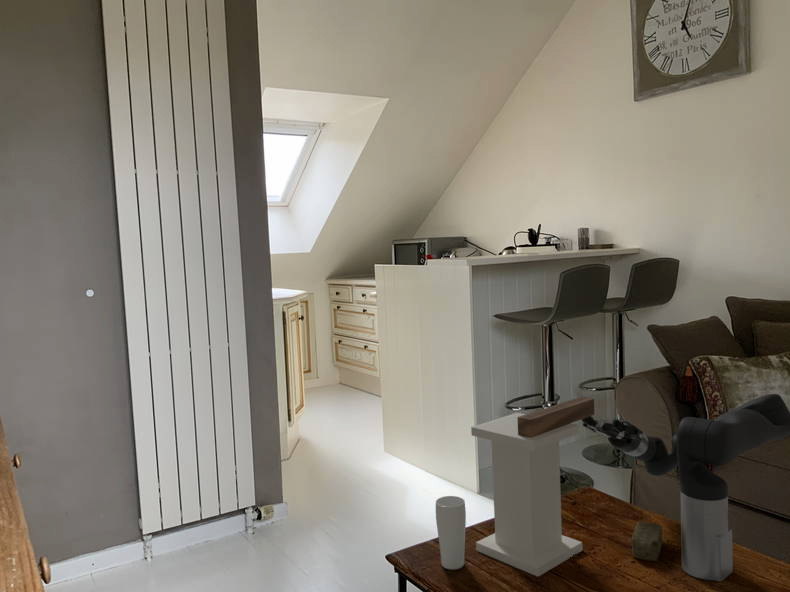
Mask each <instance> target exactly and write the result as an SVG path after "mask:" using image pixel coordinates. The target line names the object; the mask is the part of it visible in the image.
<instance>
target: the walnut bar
mask: <svg viewBox="0 0 790 592" xmlns="http://www.w3.org/2000/svg"><path fill="white" fill-rule="evenodd" d="M525 414H526V413H525ZM589 416H591V417H593V416H595V398H592V397H587V396H579V397H576V398H572V399H570V400H565V401H564V402H559V403H558V404H557V403H556V404H554V405H550V406H548V407H545V408H542V409H539V410H536V411H533V412H530V413H527V414H526V415H523V416H520V417H517V419H518V435H521V436H525V437H530V438H532V437H534V436H537V435H540V434H543V433H545V432H548V431H551V430H554V429H556V428H559V427H562V426H565V425H567V424H570V423H571V424H574V423H576V422H578V421H582V419H584V418H587V417H589Z"/></svg>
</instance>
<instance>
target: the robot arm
mask: <svg viewBox="0 0 790 592" xmlns="http://www.w3.org/2000/svg"><path fill="white" fill-rule="evenodd" d="M581 421H582V422H583V423H582V427H584V428H586V429H588V430H589V431H591V432H593V433H600V434H602V435H604V436H605V437H606V438H607V439H608V443H610V445H611V446H613V447H614V448H616V449H617V450H618V451H621V452H622V453H623V454H626V455H629V456H631V457H632V458H634V459H636V460H638V461H641V462H643V464H644V468H645V470H646V471H647V474H650V475H652V476H656V477H659V476H660V477H661V476H664V475H666V474H668V473H670V472H671V471H673V470H674V469H675V468H677V467H678V468H677V469H678V470H677V471H678V472H677V473H678V480H679V484H680V487H679V488H680V534H681V535H680V539H681V540H680V542H681V543H680V544H681V547H680V549H681V568H682V570H683V571H684V572H685V573H687V574H688V575H689V576H692V577H694V578H698V579H701V580H706V581H717V582H719V583H722V582H723V581H724V580H725V579H726V578H728V576H730V575H731V574H732V573H733V570H734V569H733V568H734V567H733V563H734V562H733V529H732V528H729V488H728V487H729V486H728V483H727V481H726V480H725V479H724V478H722V477H721V476H719V474H716V473H714V472H713V471H711V470H710V469H709V468H708V467H706V465H705V464H707V465H712V466H725V465H728V464H730V463H731V462H733V461H734V460H735V459H736V458H738V457H739V456H740V455H742V454H744V453H745V452H748V451H751V450H753V449H756V448H759V447H761V446H762V445H764V444H767V443H769V442H773V441H777V440H782V439H784V438H786V437H788V436H790V410H789V408H788V407H787V404H786V402H785V401H784V399H783V398H782V396H781V394H778V393H770V394H765V395H762V396H759V397H757V398H755V399H752V400H749V401H747V402H745V403H744V404H741V405H738V406H737V407H735V408H732V409H730V410H728V411H727V412H724V413H722V414H720V415H718V416H717V417H715V418H713V419H706V418H701V417H693V416H686V417H683V418H682V419H681V420H680V421H679V424H678V426H677V430H676V434H674V435H673V436H672V438H671V450H670V452H669V451H668V449H667V446H666V444H665V442H664V440H663V439H662V438H661V437H659V436H652V435H651V436H650V435H647V434H645V433H644V431H642V430H641V429H640V428H639V427H637V426H635V425H634V424H632V423H631V422H629V421H628V420H624V419H623V420H622V419H621V420H619V419H617V418H614V419H613V421H608V420H606V419H603V418H594V416H589V417H587V418H584V419H581ZM602 423H603V424H602ZM601 425H602V426H601Z"/></svg>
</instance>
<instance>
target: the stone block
mask: <svg viewBox="0 0 790 592" xmlns="http://www.w3.org/2000/svg"><path fill="white" fill-rule="evenodd" d="M662 545H663V526H662V525H660V524H656V523H651V522H647V521H646V522H645V521H640V520H638V521H637V522H636V525H635V529H634V531H633V532H632V538H631V549H632V556H633V557H634V558H636V559H639V560H644V561H648V562H658V561H659V556H660V551H661V548H662Z"/></svg>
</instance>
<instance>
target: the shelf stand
mask: <svg viewBox="0 0 790 592" xmlns="http://www.w3.org/2000/svg"><path fill="white" fill-rule="evenodd" d="M523 415H526V413H521V412H514V413H511V414H509V415H505V416H502V417H500V418H499V417H498V418H495V419H493V420H490V421H486V422H483V423H479V424H475V425H473V426H471V431H470V433H471V436H473V437H475V438H476V437H477V438H479V439H480V438H481V439H483V440H488V441H491V458H492V459H491V462H492V464H491V466H492V482H493V483H492V486H493V487H492V489H493V512H494V513H493V514H494V533H492V534H490V535H489V536H488V535H487V536H486V537H484V538H482V539H480V540H478V541H476V542H475V551H476V550H477V552H479V553H482V554H484V555H486V556H489V557H491V558H493V559H496V560H497V561H499V562H502V563H505V564H507V565H510V566H512V567H514V568H517V569H519V570H521V571H524V572H526V573H528V574H531V575H533V576H536V577H537V578H538V577H540V576H542V575H544V574H545V573H547V572H548V571H550V570H551V569H552V570H553V568H555V567H557V566H559V565H560V564H562V563H564V562H565V561H567V560H569V559H571V558H572V557H574V556H576V555H577V554H579V553H580V552H582V551H583V542H582V541H579V540H578V539H577V540H576V539H575V538H572V537H569V536H565V535H563V532H562V530H563V529H562V499H561V498H562V497H561V492H562V491H561V468H560V467H561V466H560V441H563V440H567V439H569V438H571V437H573V436H576V435H578V434H580V425H579V424H576V423H570V424H567V425H565V426H562V427H559V428H556V429H554V430H551V431H548V432H545V433H543V434H540V435H537V436H534V437H532V438H530V437H525V436H521V435H518V419H517V417H520V416H523ZM575 554H576V555H575ZM573 555H574V556H573ZM570 557H571V558H570Z"/></svg>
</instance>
